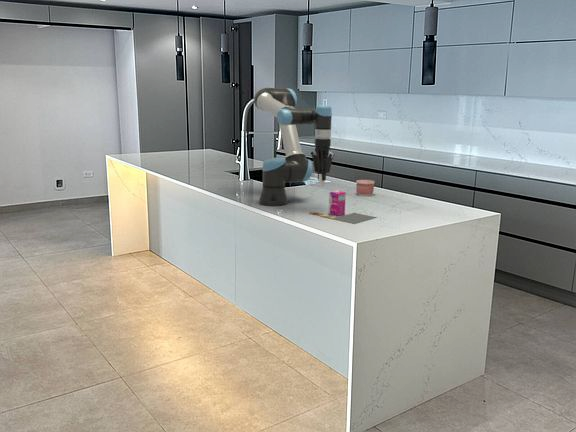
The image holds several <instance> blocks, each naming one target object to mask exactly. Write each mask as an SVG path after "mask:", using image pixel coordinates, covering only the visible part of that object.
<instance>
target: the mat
mask: <svg viewBox="0 0 576 432" xmlns="http://www.w3.org/2000/svg"><path fill="white" fill-rule="evenodd" d="M336 217H337V216H336ZM377 218H378V217H377V216H373V215H368V214H367V215H366V214H363V213H362V214H361V213H357V212H352V213H349V214H345V215H342V216H338V217H337V218H336V219H332V220H334V221H340V222H344V223H348V224H352V225H356V224H360V223H363V222H367V221H370V220H374V219H377Z"/></svg>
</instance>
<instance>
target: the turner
mask: <svg viewBox="0 0 576 432" xmlns="http://www.w3.org/2000/svg"><path fill="white" fill-rule="evenodd" d="M308 214H309V215H313V216H318V217H320V218H327V219H331V220H333V219H336V218H337V216H333V215H329V214H325V213H322V212H316V211H312V210H310V211H308Z"/></svg>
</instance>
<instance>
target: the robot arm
mask: <svg viewBox="0 0 576 432" xmlns="http://www.w3.org/2000/svg"><path fill="white" fill-rule="evenodd" d="M297 101H298V97H297V94H296V92H295V90H293V89H291V88H288V87H287V88H286V87H264V88H260V89H259V90H257V91H256V93H255V94H254V98H253V103H254V105H255V107H256V108H257V109H258V110H260V111H262V112H267V113H269V114H270V115H272V116H273V117H274V118H276V120H277V122H278V124H279V129H280V134H281V137H282V138H281V139H282V143H283V147H284V152H285V153H284V154H285V157H272V158H268V159H265V160H264V161H263V162H262V168H261V170H262V188H261V191H260V195H259V198H258V203H259V204H260V205H262V206H268V207H270V206H271V207H276V206H285V205H287V204H288V203H289V199H288V196H287V192H286V189H285V188H286V183H302V182H307V181H309V180H310V179H311V177H312V174H313V169H314V173H317V180H318V188H325V183H326V180H327V174H329V173H330V172H331V167H332V164H333V159H334V157H335V153H333V152H332V151H331V145H332V144H331V141H332V140H331V137H332V115H333V114H332V106H331V105H325V104H324V105H321V104H320V105H316V107H315V108H297V106H298V105H297V104H298V102H297ZM299 125H301V126H302V125H303V126H304V125H315V128H314V130H315V133H314V134H315V135H314V137H315V139H314V147H315V148H314V150H313V151H311V152H310V156H311V158H312V160H311V159H308V158H307V157H306V154H305V153H304V152H303V151H302V147H301V143H300V139H299V134H298V129H297V126H299Z"/></svg>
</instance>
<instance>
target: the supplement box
mask: <svg viewBox="0 0 576 432" xmlns="http://www.w3.org/2000/svg"><path fill="white" fill-rule="evenodd" d="M328 193H329V194H328V195H329V196H328V215H330V216H336V217H340V216H344V215H346V193H347V192H346V191H341V190H332V191H329V192H328Z"/></svg>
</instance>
